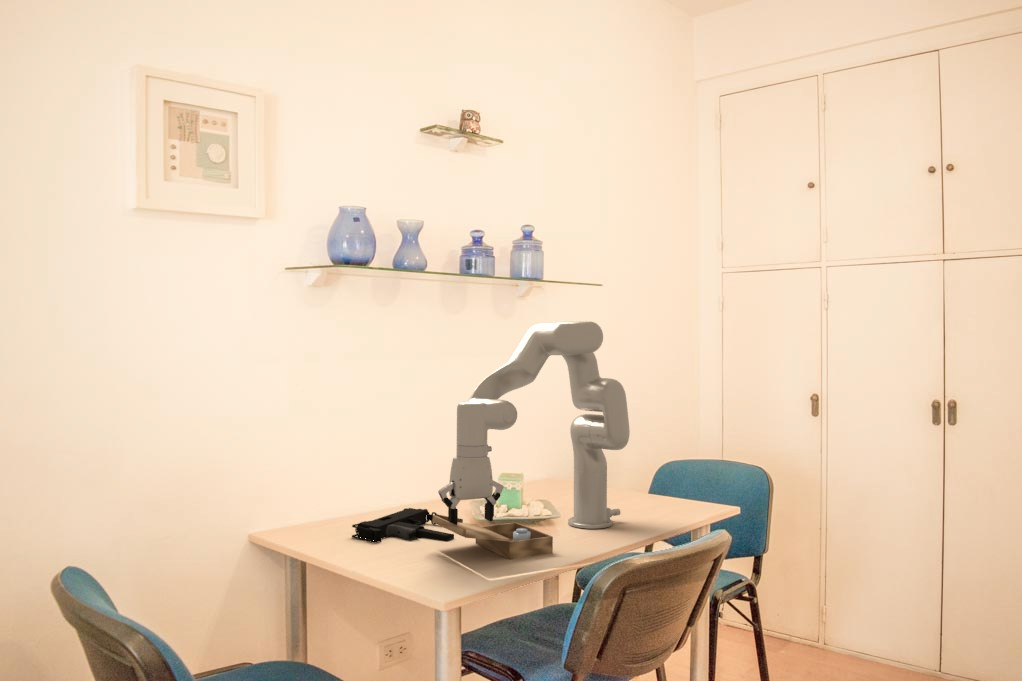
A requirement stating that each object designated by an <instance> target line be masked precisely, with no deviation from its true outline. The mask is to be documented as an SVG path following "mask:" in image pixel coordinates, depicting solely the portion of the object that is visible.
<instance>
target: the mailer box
mask: <svg viewBox="0 0 1022 681" xmlns="http://www.w3.org/2000/svg"><path fill="white" fill-rule="evenodd" d="M480 526H481V527H483V528H486V529H488V530H490V531H493V532H495V533H497V534H499V535H502V536H504V537H506V538H509V539H510V541H499V540H487V539H475V543H476V544H477V545H479V546H481V547H483V548H484V549H485V548H486V549H488V550H490V551H492V552H493V553H495V554H498V555H500V556H501V557H503V558H505V559H508V560H515V559H523V558H529V557H530V558H531V557H535V556H536V557H537V556H543V555H550V554H554V552H553V550H554V548H553V544H554V542H553V540H554V539H553V538H554V536H552V535H550V534H548V533H544V532H541V531H539V530H538V529H537V530H536V529H534V528H532V527H530V526H527V525H524V524H522V523H519V522H516V521H515V522H507V523H499V524H491V525H484V526H483V525H480ZM518 528H525V529H527V531H530V532H531V539H527V540H520V541H513V532H514V531H516V529H518Z"/></svg>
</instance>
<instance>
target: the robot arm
mask: <svg viewBox="0 0 1022 681" xmlns="http://www.w3.org/2000/svg"><path fill="white" fill-rule="evenodd" d="M603 341H604V332H603V330H602V327H601V326H600V325H599V324H597V323H596V322H594V321H559V322H552V323H550V322H549V323H538V324H534V325H532V326H531V327H530V328H528V330H527V331H526V333H525V334H524V335H523V337H522V339H521V340H520V342H519V344H518V345H517V347H516V349H515V350H514V351H513V353H512V354H511V356H510V357H509V359H508V361H507V362H506V363H505V364H503V365H502V366H500V367H498V368H497V369H496V370H494V371H493V372H492V373H491V374H489V375H488V376H486V377H485V378H484V379H482V381H480V383H479V384H478V385H477V386H476V387H475V388H474V390H473V392H472V393H471V395H470V397H469V398H468V400H467V401H461V402H458V405H457V406H456V456H455V457H452V461H451V467H450V474H449V482H448V484H446V485H444V487H441V488H440V489H439V490H438V491H437V492H438V495H439V497H440V498H441V502H442V503H444V504H445V506H446V507H447V509H448V510H447V517H448V520H449V522H451V523H453V524H455V525H457V524H458V516H459V514H458V512H459V510H458V508H457V507H458V504H459V503H460V501H468V500H470V501H471V500H481V499H484V501H486V502H485V503H484V520H486V521H489V522H493V521H494V517H495V505H496V504H497V501H499V499H500V498H501V494H502V492H503V490H504V488H505V487H504V485H503V484H501V483H499V482H497V481H495V480H494V479H493V472H492V471H493V469H492V463H491V459H490V456H489V452H492V450H493V447H492V446H490V445H489V444H488V430H496V431H503V430H505V431H506V430H508V429H510V428H511V427H513V425H515V423H516V421H517V420H518V411H517V407H516V406H515V405H514V404H513V403H512V402H510V401H508V400H506V399H500V398H501V397H503V396H504V395H506V394H508V393H511V392H513V391H514V390H518V389H521V388H523V387H526V386H528V385H530V384H531V383H533V382H534V381H535V380H536V378H537V377H538V375H539V374H540V372H541V370H542V368H543V367H544V365H545V363H546V362H547V360H548V359H549V358H550V356H562V358H563V359H564V360H565V363H566V365H567V370H568V377H569V386H570V387H569V388H570V393H571V401H572V404H573V406H574V407H575V408H576V409H577V410H579V411H580V410H581V411H586V412H587V411H588V412H599V413H602V414H593V413H592V414H591V413H585V414H580V415H578V416H576V417H574V419H573V420H572V422H571V424H570V429H569V430H570V432H569V433H570V439H571V444H572V445H571V446H572V450H573V516H572V517H570V518H569V519H568V520H567V521H568V522H567V523H568V526H571V527H573V528H580V529H587V530H589V529H592V530H595V529H596V530H597V529H607V528H610V527H611V526H612V525H613V520H612V519H611V518H612V517H616V516H620V515H621V509H619V508H614V509H613V508H610V507H608V494H607V493H608V462H607V459H606V455H605V453H604V450H610V451H621V450H622V449H624V448H625V447H626V446H628V444H629V440H630V421H629V411H628V410H629V409H628V402H627V395H626V391H625V388H624V386H623V384H622V383H621V382H620V381H619V380H617V379H614V378H609V377H608V378H607V377H606V378H605V377H604V378H603V377H601V376H600V373H599V372H600V371H599V365H598V359H597V358H596V357H597V356H596V355H595V352H596V351H598V350H599V349H600V348H601V346H602V344H603ZM494 488H495V489H494ZM493 489H494V492H493ZM447 493H448V494H449V497H450V498H448V495H447Z"/></svg>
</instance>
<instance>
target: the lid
mask: <svg viewBox="0 0 1022 681" xmlns="http://www.w3.org/2000/svg"><path fill="white" fill-rule="evenodd" d="M434 515H435V514H433V519H432V522H433V523H435V524H436V525H438V526H440V527H442V528H444V529H446V530H448V531H450V532H452V533H453V534H455V535H458V536H460V537H463V538H465V539H474V540H476V539H487V540H499V541H510V539H509V538H506V537H504V536H502V535H499V534H497V533H495V532H493V531H490V530H488V529H486V528H483V527H481V526H482V525H478V524H477V523H468V522H467V523H465V522H463V523H458V524H457V525H455V524H453V523H451V522H449V521H447V520H444V519H442V518H440V517H438V516H434Z"/></svg>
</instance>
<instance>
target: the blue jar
mask: <svg viewBox="0 0 1022 681" xmlns="http://www.w3.org/2000/svg"><path fill="white" fill-rule="evenodd" d="M527 539H531V532H530V531H527V529H525V528H518V529H516V531H514V532H513V541H520V540H527Z"/></svg>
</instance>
